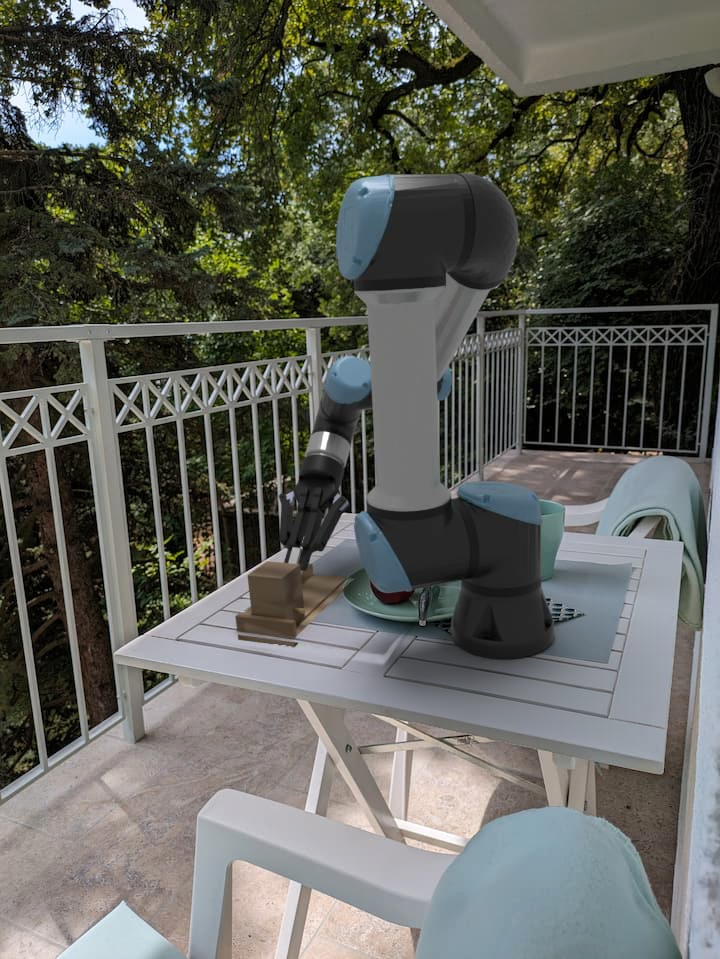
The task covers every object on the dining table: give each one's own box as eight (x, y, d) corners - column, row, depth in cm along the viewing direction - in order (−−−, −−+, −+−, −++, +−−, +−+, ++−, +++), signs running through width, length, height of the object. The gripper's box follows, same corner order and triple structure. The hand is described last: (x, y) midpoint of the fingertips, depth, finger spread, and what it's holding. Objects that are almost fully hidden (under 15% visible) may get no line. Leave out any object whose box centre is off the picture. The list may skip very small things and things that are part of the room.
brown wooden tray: (306, 581, 136) (304, 561, 135) (356, 586, 132) (354, 565, 131) (238, 639, 115) (235, 616, 114) (294, 647, 111) (292, 623, 110)
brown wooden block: (272, 612, 120) (266, 561, 118) (313, 617, 117) (309, 565, 115) (253, 628, 115) (247, 575, 112) (296, 634, 112) (291, 579, 109)
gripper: (364, 475, 130) (333, 599, 120) (299, 473, 135) (264, 592, 125) (351, 453, 124) (317, 582, 114) (283, 451, 129) (244, 574, 119)
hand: (289, 587), depth 119 cm, fingers closed
